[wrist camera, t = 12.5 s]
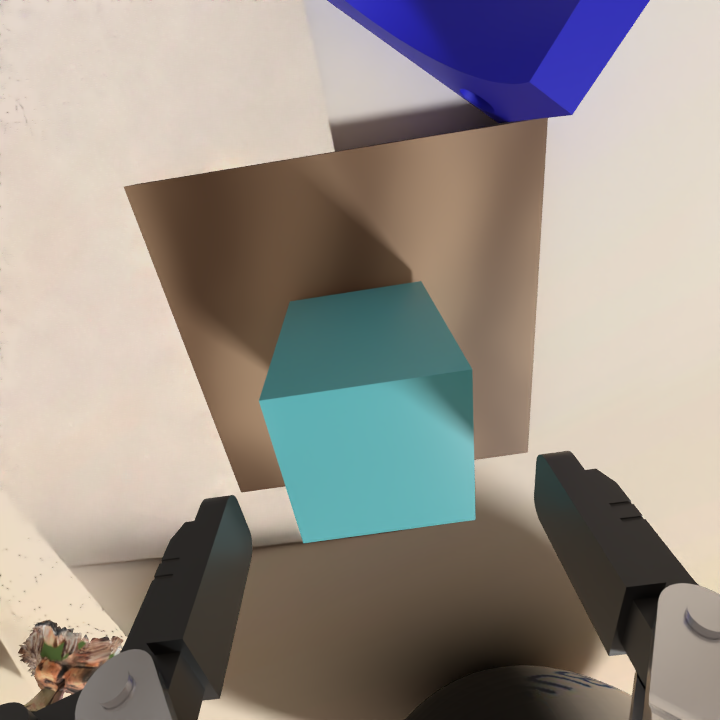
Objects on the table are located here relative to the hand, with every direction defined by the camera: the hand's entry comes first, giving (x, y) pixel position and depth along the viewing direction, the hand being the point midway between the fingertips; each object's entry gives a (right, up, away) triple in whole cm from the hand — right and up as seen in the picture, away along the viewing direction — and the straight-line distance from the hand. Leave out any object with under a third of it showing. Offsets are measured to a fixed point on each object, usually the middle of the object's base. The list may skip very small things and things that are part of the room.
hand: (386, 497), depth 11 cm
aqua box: (-1, +4, +8) cm, 9 cm away
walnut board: (-1, +5, +9) cm, 10 cm away
